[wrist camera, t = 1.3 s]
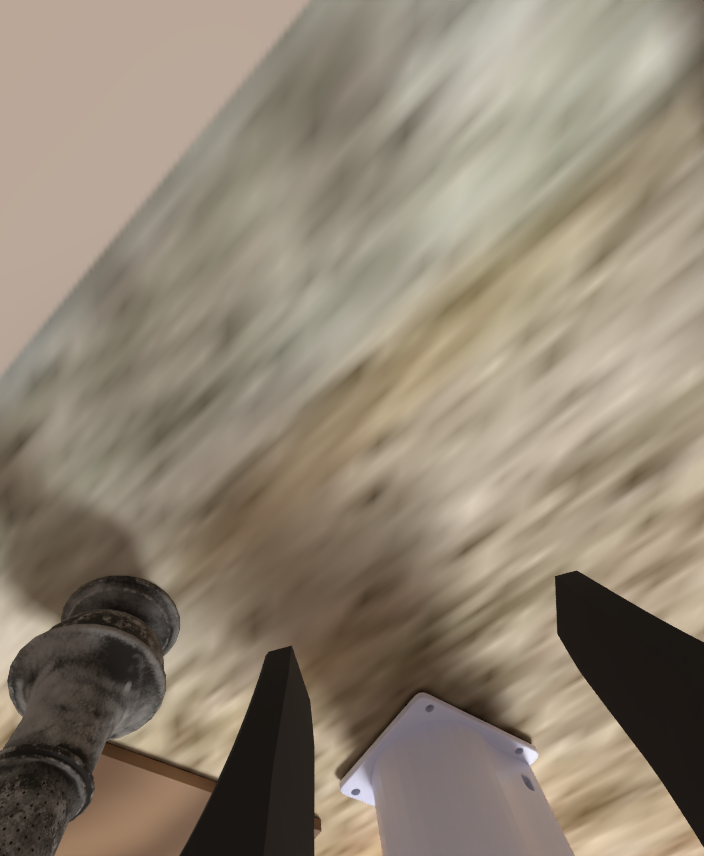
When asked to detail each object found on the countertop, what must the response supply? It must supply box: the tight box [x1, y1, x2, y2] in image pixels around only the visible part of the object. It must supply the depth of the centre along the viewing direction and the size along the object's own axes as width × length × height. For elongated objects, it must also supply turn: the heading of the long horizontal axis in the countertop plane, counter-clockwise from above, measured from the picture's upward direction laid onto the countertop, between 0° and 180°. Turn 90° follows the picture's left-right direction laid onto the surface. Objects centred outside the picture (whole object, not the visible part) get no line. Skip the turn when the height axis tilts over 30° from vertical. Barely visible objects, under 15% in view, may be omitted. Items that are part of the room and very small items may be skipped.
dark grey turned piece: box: [0, 576, 180, 856], centre depth 15 cm, size 6×6×12 cm
